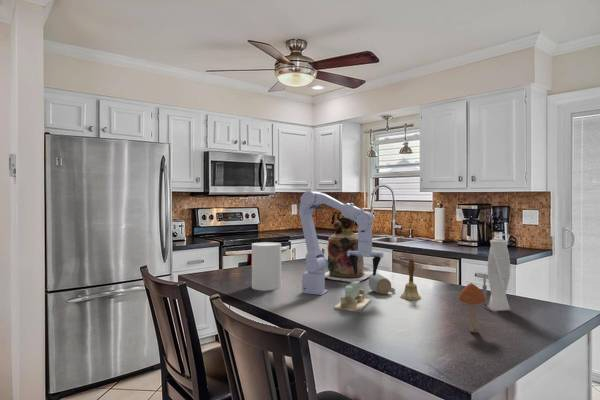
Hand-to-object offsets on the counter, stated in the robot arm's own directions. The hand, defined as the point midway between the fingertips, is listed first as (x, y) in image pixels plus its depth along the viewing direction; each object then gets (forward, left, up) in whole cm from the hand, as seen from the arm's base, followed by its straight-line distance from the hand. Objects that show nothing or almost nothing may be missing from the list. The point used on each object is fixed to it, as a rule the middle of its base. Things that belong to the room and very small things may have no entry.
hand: (365, 274), depth 163 cm
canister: (-47, +3, -10) cm, 48 cm away
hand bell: (+17, +9, -10) cm, 22 cm away
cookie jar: (-20, +39, -10) cm, 45 cm away
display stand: (-2, -11, -10) cm, 15 cm away
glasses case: (-2, -11, -7) cm, 13 cm away
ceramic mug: (+4, +13, -10) cm, 17 cm away
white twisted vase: (+49, +5, -10) cm, 50 cm away
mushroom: (+40, -26, -10) cm, 49 cm away
